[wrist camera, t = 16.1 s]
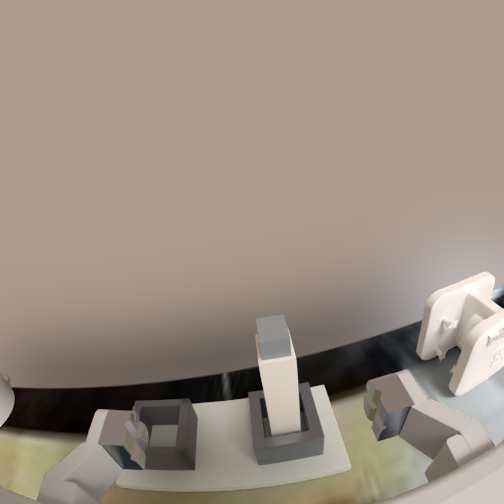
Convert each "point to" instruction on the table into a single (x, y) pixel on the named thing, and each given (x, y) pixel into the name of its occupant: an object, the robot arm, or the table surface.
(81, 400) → the table surface
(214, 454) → the panel
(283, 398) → the plug
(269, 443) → the box
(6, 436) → the table surface
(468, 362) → the cable organizer
